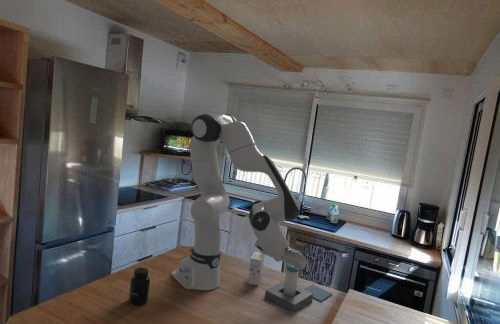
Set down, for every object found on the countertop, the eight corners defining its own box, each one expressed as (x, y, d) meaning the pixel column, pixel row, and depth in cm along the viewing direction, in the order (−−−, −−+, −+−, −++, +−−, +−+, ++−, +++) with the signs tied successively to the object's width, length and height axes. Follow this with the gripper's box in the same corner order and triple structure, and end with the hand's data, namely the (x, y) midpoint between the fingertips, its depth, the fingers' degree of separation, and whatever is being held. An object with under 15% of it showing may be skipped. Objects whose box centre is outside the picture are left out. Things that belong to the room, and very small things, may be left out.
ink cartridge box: (251, 275, 157) (255, 245, 156) (261, 277, 156) (265, 247, 155) (247, 283, 149) (251, 251, 147) (258, 286, 148) (262, 253, 146)
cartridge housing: (264, 297, 139) (265, 290, 139) (284, 287, 150) (285, 280, 149) (293, 312, 130) (294, 304, 130) (312, 300, 141) (313, 293, 140)
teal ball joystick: (280, 298, 139) (284, 265, 138) (287, 294, 143) (291, 262, 142) (290, 303, 136) (294, 269, 135) (297, 299, 140) (301, 266, 139)
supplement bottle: (127, 306, 121) (130, 274, 120) (129, 297, 127) (131, 266, 126) (148, 306, 123) (150, 274, 121) (148, 296, 129) (151, 266, 128)
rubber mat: (300, 292, 147) (300, 290, 146) (312, 285, 154) (312, 284, 154) (320, 301, 140) (321, 300, 140) (332, 294, 148) (332, 293, 148)
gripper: (303, 246, 121) (314, 266, 129) (259, 230, 134) (271, 249, 143) (295, 261, 118) (307, 280, 126) (251, 243, 131) (264, 262, 140)
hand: (288, 263), depth 135 cm, fingers open, 8 cm apart
